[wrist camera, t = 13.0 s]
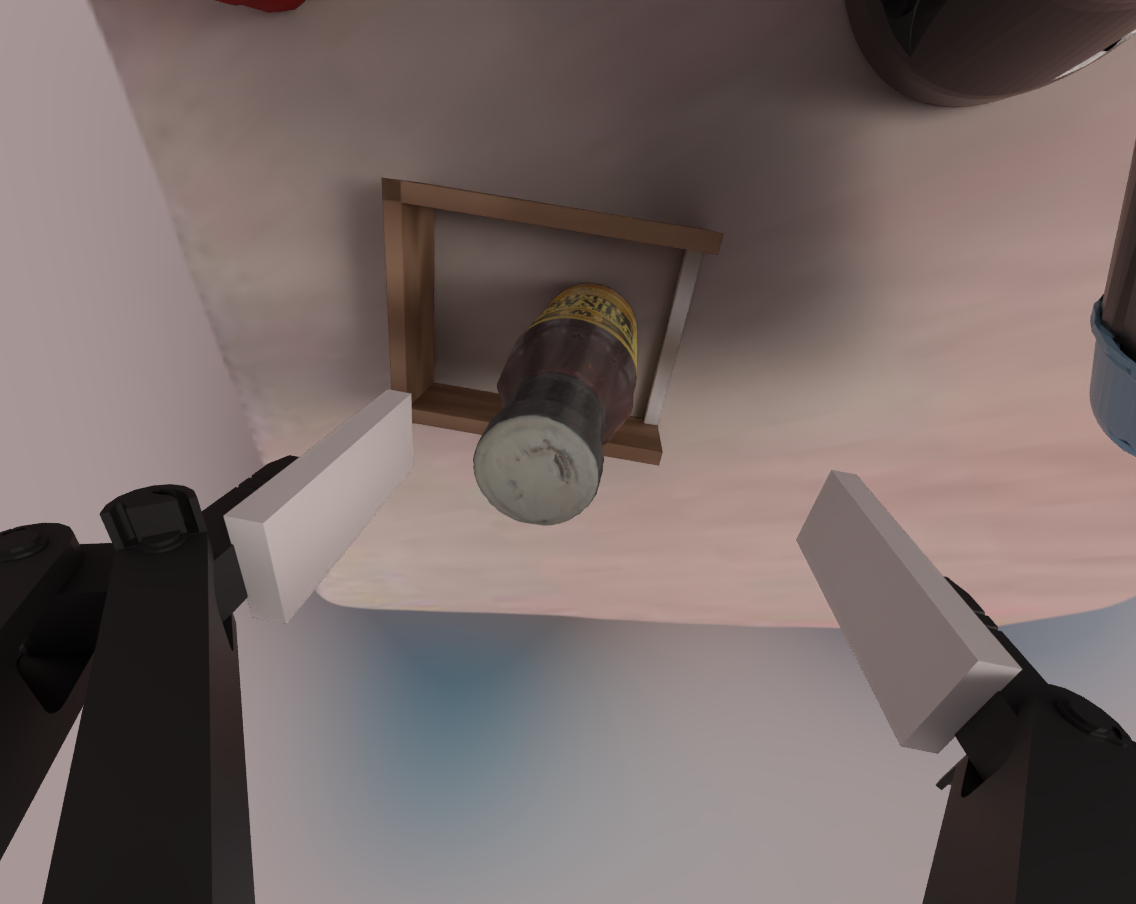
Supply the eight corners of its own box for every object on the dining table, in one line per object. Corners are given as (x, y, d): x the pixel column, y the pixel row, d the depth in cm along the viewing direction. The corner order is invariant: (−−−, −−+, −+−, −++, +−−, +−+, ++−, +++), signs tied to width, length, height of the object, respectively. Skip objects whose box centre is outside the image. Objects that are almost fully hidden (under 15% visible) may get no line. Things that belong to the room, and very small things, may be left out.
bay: (418, 182, 28) (381, 177, 24) (706, 229, 28) (723, 234, 23) (421, 392, 35) (392, 419, 30) (653, 432, 35) (659, 465, 30)
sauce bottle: (645, 288, 30) (686, 404, 12) (624, 378, 33) (633, 572, 15) (547, 270, 30) (450, 358, 12) (534, 361, 33) (442, 536, 15)
